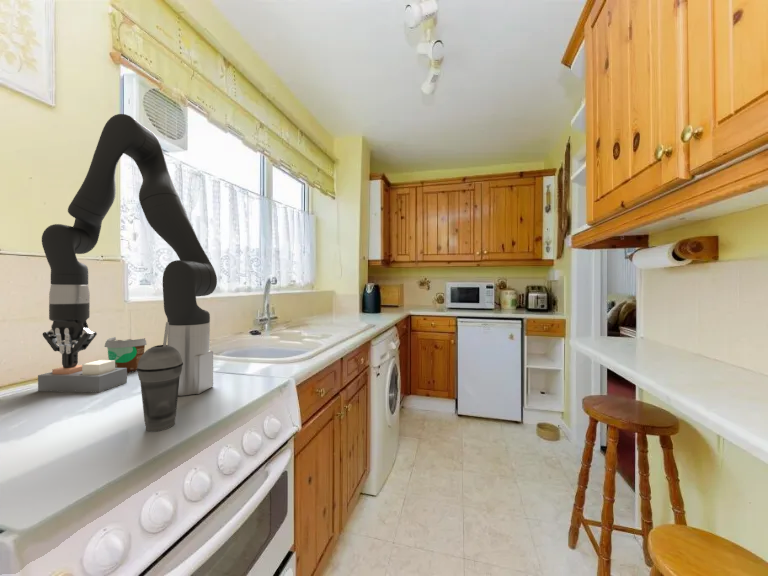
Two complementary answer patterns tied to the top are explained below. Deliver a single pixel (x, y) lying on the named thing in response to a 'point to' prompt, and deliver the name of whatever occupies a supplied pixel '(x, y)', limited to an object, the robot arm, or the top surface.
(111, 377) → the key console
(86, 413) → the top surface
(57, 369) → the terracotta key
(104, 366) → the cream key
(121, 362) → the food container
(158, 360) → the beverage cup
